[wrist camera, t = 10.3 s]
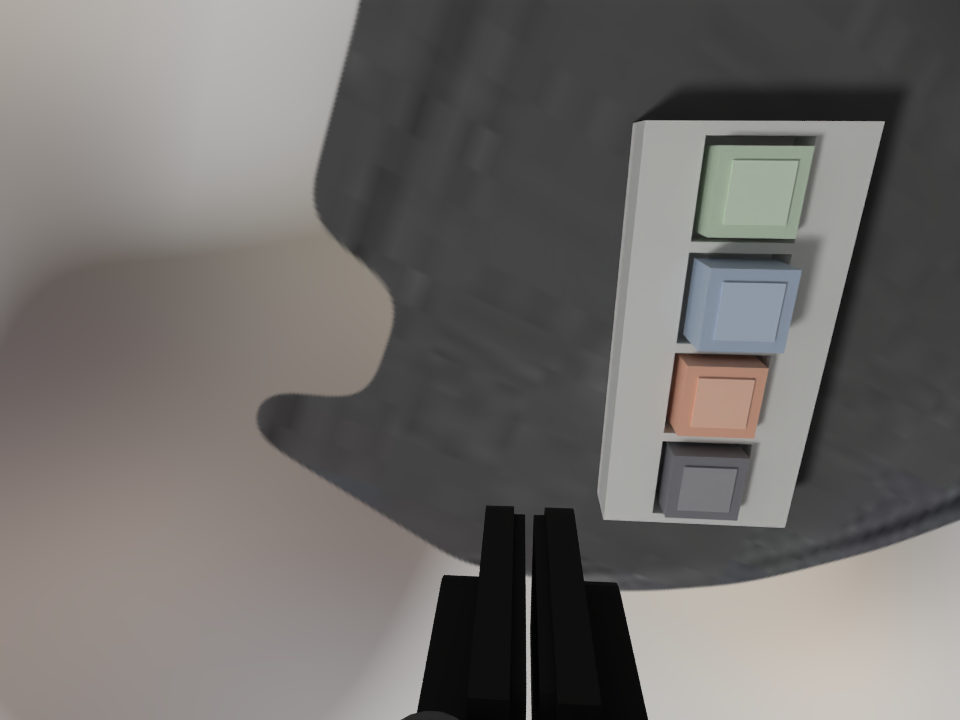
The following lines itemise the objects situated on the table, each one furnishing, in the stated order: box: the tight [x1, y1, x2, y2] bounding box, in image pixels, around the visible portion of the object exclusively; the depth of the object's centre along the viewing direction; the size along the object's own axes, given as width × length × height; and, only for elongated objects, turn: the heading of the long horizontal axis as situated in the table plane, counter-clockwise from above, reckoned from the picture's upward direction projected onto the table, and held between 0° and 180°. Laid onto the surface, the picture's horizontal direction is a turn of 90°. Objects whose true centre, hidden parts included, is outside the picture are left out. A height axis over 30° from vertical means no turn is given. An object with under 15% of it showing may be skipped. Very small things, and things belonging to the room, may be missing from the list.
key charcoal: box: [655, 441, 750, 521], centre depth 36 cm, size 5×5×3 cm
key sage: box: [692, 145, 815, 239], centre depth 30 cm, size 5×5×3 cm
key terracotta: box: [666, 353, 769, 439], centre depth 34 cm, size 5×5×3 cm
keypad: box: [597, 120, 885, 528], centre depth 34 cm, size 12×25×3 cm, turn 0°
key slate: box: [683, 258, 802, 353], centre depth 31 cm, size 5×5×3 cm
